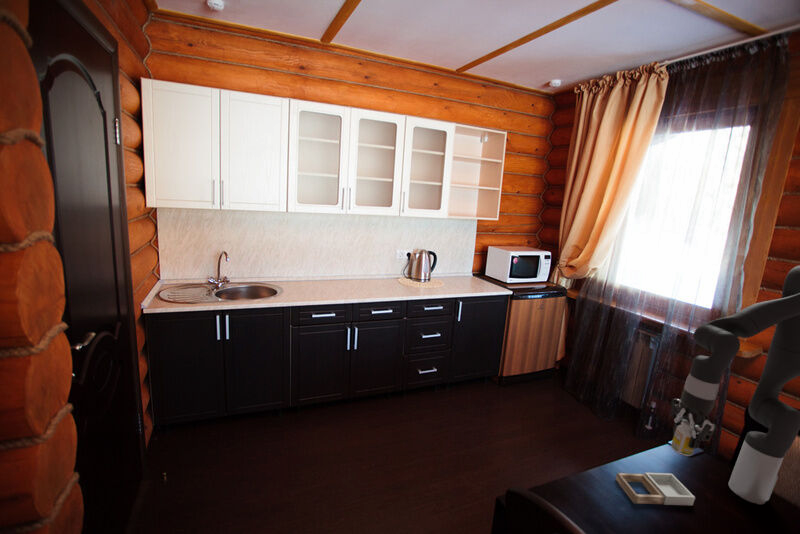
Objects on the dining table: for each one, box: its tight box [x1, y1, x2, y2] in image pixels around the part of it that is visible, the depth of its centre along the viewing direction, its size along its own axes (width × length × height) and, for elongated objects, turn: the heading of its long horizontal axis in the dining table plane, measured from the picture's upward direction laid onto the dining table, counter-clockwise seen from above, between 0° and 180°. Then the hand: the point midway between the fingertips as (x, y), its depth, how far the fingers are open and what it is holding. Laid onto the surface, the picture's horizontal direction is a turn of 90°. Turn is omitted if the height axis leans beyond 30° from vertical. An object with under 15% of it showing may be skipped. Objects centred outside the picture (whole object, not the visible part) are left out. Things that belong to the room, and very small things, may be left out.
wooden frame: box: [615, 472, 664, 505], centre depth 118 cm, size 9×9×2 cm
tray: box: [643, 472, 696, 506], centre depth 119 cm, size 9×9×3 cm
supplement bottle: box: [670, 419, 699, 457], centre depth 114 cm, size 5×5×10 cm
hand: (684, 440), depth 115 cm, fingers closed on supplement bottle, 5 cm apart
